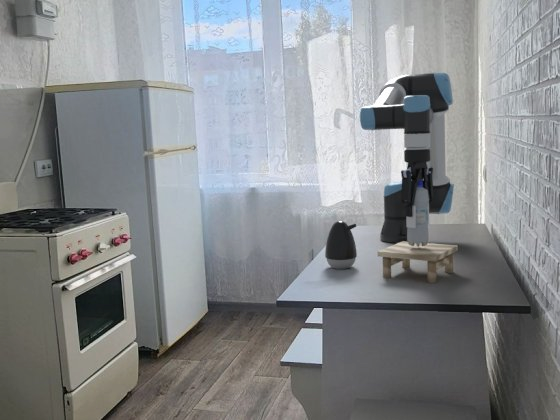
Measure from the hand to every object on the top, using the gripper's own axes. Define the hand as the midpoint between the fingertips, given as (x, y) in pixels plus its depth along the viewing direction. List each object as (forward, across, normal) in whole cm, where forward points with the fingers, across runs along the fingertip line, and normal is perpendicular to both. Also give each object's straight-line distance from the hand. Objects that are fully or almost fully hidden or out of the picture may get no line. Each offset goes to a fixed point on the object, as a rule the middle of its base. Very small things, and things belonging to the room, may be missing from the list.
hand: (417, 225), depth 183 cm
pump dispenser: (+15, +6, -25) cm, 30 cm away
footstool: (+15, 0, 0) cm, 15 cm away
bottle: (+6, 0, 0) cm, 6 cm away
